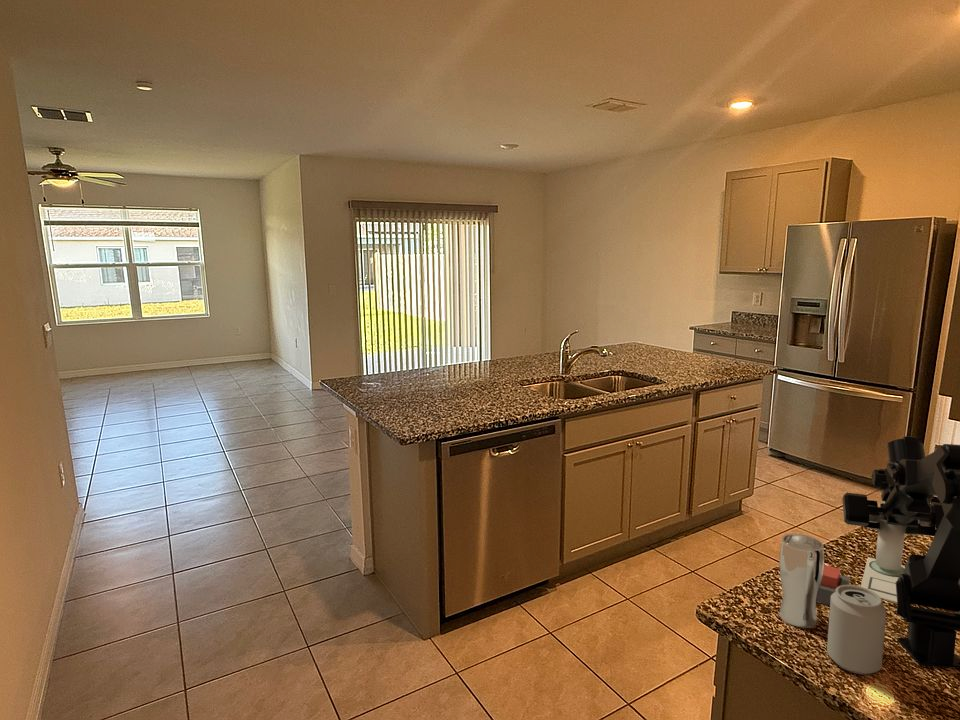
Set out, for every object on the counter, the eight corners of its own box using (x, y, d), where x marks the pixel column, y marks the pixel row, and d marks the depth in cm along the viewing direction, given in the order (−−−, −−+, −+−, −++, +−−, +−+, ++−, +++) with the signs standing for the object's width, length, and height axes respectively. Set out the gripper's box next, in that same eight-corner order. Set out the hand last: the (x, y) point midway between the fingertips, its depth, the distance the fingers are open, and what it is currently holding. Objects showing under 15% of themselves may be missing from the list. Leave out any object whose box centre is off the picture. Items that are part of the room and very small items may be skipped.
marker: (899, 573, 115) (905, 513, 113) (872, 565, 119) (878, 507, 117) (903, 564, 119) (909, 505, 117) (876, 557, 122) (882, 500, 120)
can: (864, 647, 95) (869, 581, 94) (891, 679, 88) (898, 608, 86) (817, 646, 96) (822, 580, 94) (841, 677, 89) (846, 607, 87)
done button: (836, 593, 108) (837, 578, 107) (809, 585, 111) (810, 571, 110) (839, 583, 111) (840, 568, 111) (813, 576, 114) (814, 562, 113)
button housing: (844, 609, 106) (845, 595, 105) (798, 596, 111) (799, 582, 110) (849, 591, 112) (850, 577, 111) (805, 579, 116) (806, 565, 116)
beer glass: (797, 633, 100) (802, 553, 97) (768, 611, 106) (771, 536, 104) (829, 625, 102) (834, 547, 99) (798, 604, 108) (802, 530, 106)
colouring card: (907, 606, 106) (907, 604, 106) (859, 593, 111) (859, 591, 111) (911, 568, 119) (911, 567, 119) (867, 558, 124) (867, 556, 124)
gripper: (962, 466, 108) (938, 499, 119) (847, 456, 115) (835, 488, 127) (973, 522, 102) (947, 551, 113) (851, 507, 109) (838, 536, 121)
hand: (889, 529), depth 119 cm, fingers open, 5 cm apart
